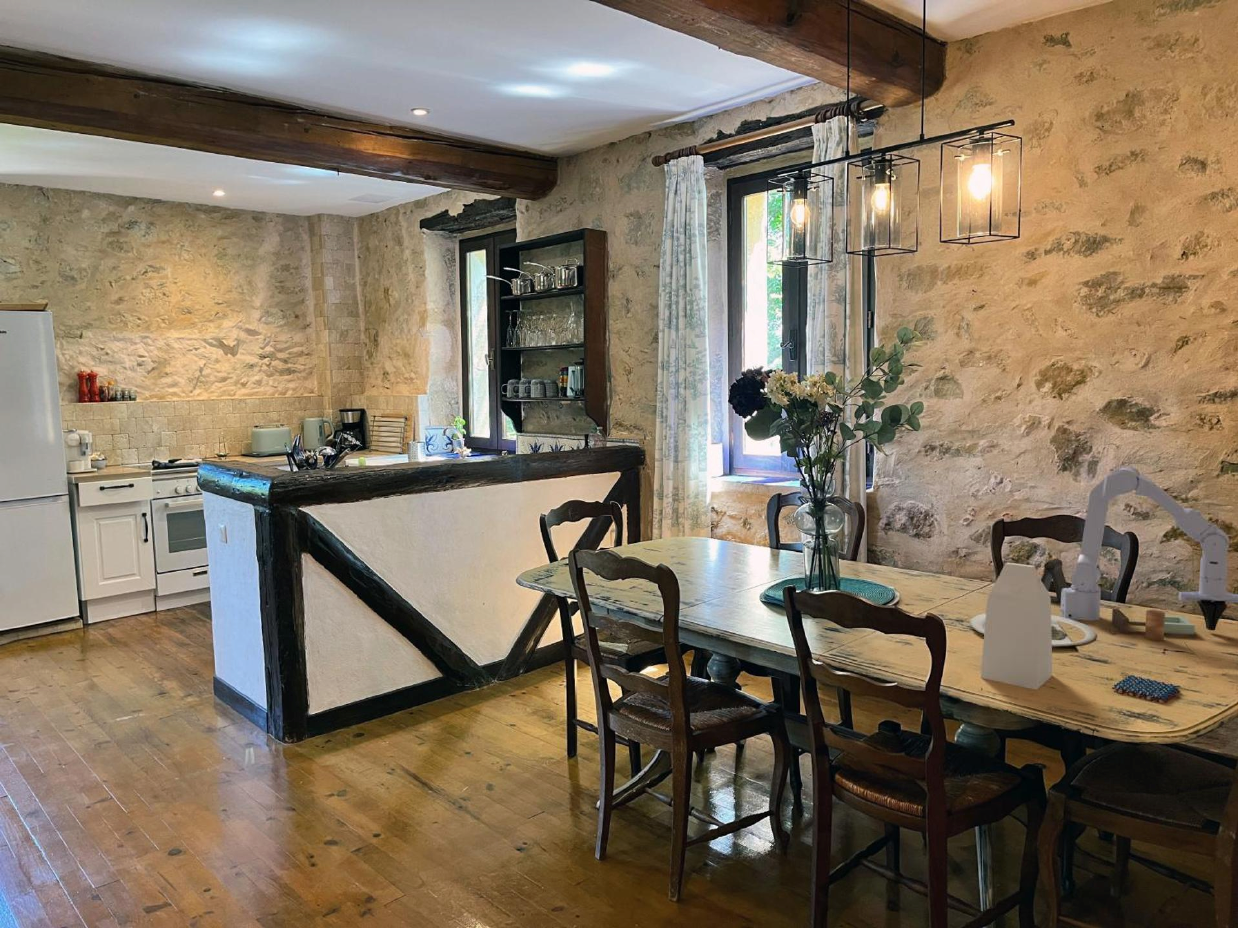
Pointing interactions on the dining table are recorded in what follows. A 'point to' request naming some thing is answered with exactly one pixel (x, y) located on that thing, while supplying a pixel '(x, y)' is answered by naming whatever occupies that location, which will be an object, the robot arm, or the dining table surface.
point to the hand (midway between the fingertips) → (1210, 629)
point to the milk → (1018, 629)
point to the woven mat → (1146, 688)
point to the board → (1123, 624)
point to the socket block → (1178, 625)
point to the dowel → (1155, 625)
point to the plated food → (1056, 630)
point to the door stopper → (1054, 578)
